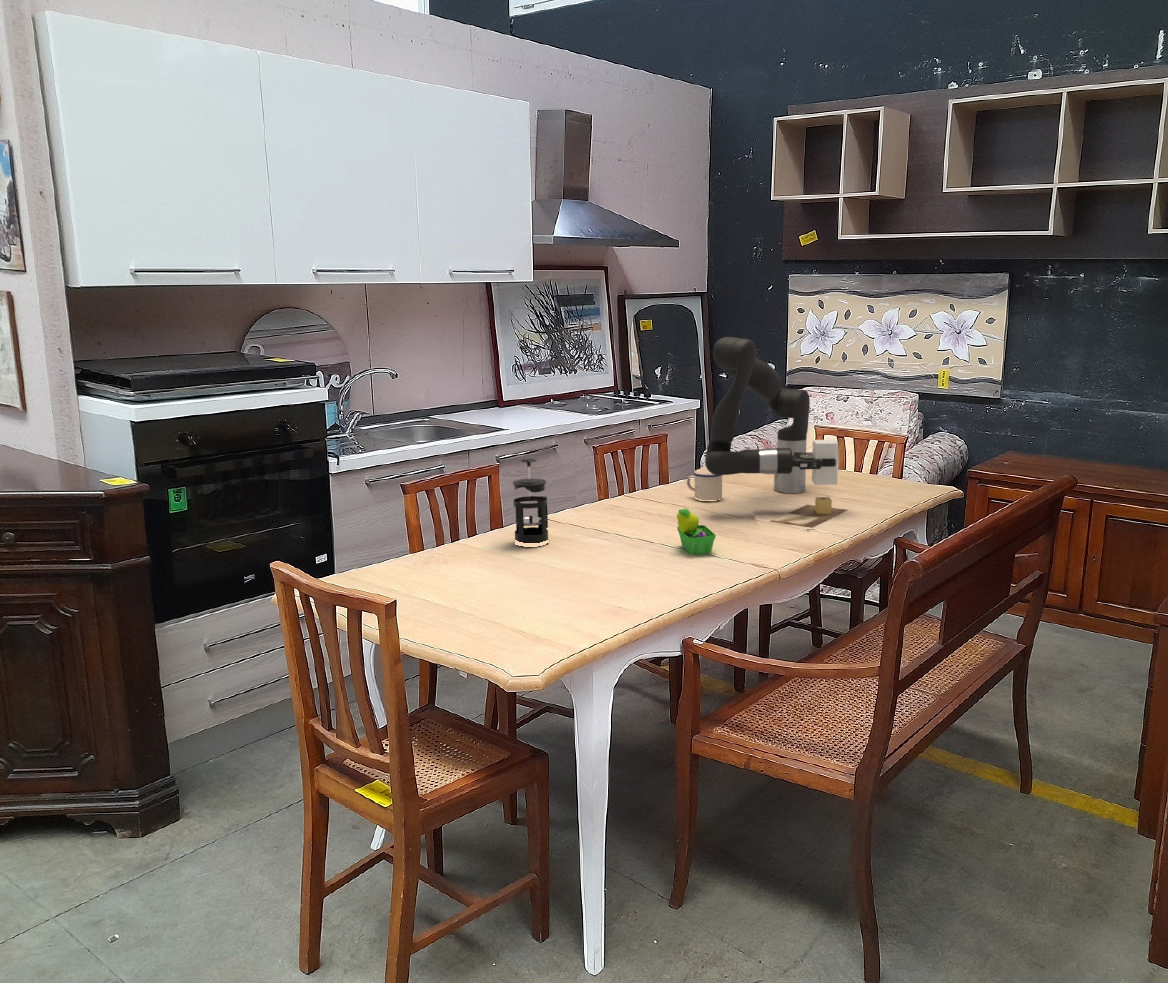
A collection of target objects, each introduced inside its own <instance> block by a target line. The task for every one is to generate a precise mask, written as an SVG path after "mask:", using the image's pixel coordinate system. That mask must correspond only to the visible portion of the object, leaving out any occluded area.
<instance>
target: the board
mask: <svg viewBox="0 0 1168 983" xmlns="http://www.w3.org/2000/svg"><path fill="white" fill-rule="evenodd" d="M847 511H848V509H843V508H837V507H836V508H835V507H831V514H817V513H816V511H815V504H814V505H813V504H805V505H803V506H800V507H798V508H796V509H794V510H792V511H790V512H787V513H786V514H783V515H781V516H779V517H776V518H774V519H772V520H770V521H769V523H776V524H781V525H789V526H797V527H802V528H803V527H804V528H808V530H814V531H816V530H815V529H813V528H816V527H817V526H819V525H821V524H823V523H826V522H827V521H829V520H831V519H832V518H835V517H837V516H839V515H841V514H844V513H845V512H847ZM809 528H810V529H809Z"/></svg>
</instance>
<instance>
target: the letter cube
mask: <svg viewBox="0 0 1168 983" xmlns="http://www.w3.org/2000/svg"><path fill="white" fill-rule="evenodd" d="M814 498H815V499H814V506H815V511H816V513H817V514H831V508H832V506H833V505H832V503H833V500H832V499H831V498H830V497H829V496H824V497H823V496H817V497H814Z"/></svg>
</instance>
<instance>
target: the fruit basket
mask: <svg viewBox="0 0 1168 983" xmlns="http://www.w3.org/2000/svg"><path fill="white" fill-rule="evenodd" d="M676 519H677V525H678V526H677V527H676V530H677V532H678V535H679V539H680V542H681V546H682V545H683V546H684V547H683V546H682V547H683V548H684V550H686V549H687V550H686V551H687V552H688V554H690V555H691V554H701V555H706V554H705V553H710V554H711V553H712V549H713V545H714V541H715V540H716V537H717V535H716V534H715V533H714V531H712V529H711V530H710V529H709V527H708V526H706V525H704V524H699V522H700V519H699V517H698V516H696V515H695V513H693V512H691V511H690V510H689V509H688V508H686V507H684V508H682V509H681V508H680V509H678V512H677V515H676Z"/></svg>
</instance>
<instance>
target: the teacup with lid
mask: <svg viewBox="0 0 1168 983" xmlns="http://www.w3.org/2000/svg"><path fill="white" fill-rule="evenodd" d="M704 464H705V463H704ZM693 474H694V475H693ZM693 474H692V475H689V476H688V477H687V478H686V485H687V488H689V490H690V491H691V492H692V491H693V492H694V498H695V497H696V498H698V499H701V500H719V499H723V475H714V474H712V473H710V472H709V471H708V469H707V467H706V464H705V465H704V466H702V467H700V468H699V469H696V470H694V472H693ZM691 479H694V487H693V486H692V485H691V483H690V482H691V481H690V480H691Z"/></svg>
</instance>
